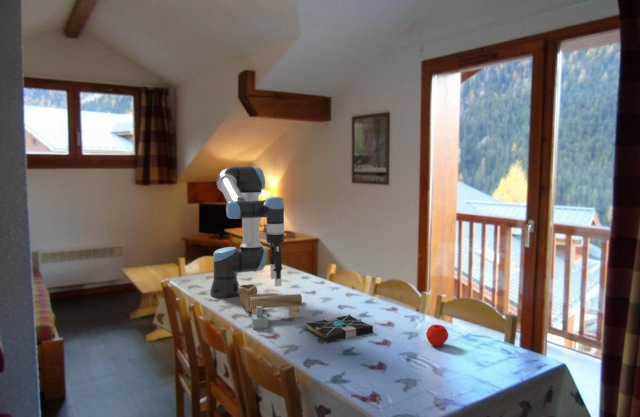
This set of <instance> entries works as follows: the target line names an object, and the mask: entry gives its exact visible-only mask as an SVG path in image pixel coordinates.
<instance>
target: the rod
mask: <svg viewBox="0 0 640 417" xmlns="http://www.w3.org/2000/svg"><path fill="white" fill-rule="evenodd" d="M302 297H303V296H302V294H301V293H295V294H280V295H277V294H276V295H262V296H261V295H260V297H250V309H256V306H262V307H263V309H267V308H268V309H269V308H273V309H274V308H284V307H288V308H289V306H302V305H303V299H302Z"/></svg>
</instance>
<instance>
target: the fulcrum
mask: <svg viewBox="0 0 640 417" xmlns="http://www.w3.org/2000/svg"><path fill="white" fill-rule="evenodd" d="M251 327H252V329H253V330H258V329H259V330H260V329H268V328H269V318H268V315H267V314H266V313H264V308H263V307H262V306H256V315H252V314H251Z"/></svg>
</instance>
